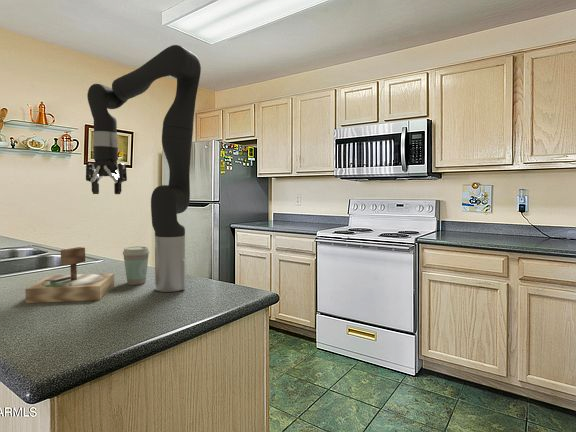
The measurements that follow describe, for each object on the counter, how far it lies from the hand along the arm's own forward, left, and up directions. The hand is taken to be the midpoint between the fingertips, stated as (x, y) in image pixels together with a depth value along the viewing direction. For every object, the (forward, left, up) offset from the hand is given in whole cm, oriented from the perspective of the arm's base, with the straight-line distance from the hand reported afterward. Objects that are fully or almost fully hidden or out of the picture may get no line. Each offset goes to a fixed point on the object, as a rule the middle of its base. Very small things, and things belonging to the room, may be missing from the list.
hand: (106, 194), depth 128 cm
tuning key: (+7, +17, -26) cm, 32 cm away
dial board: (+6, +15, -30) cm, 34 cm away
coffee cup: (-10, +4, -30) cm, 32 cm away
